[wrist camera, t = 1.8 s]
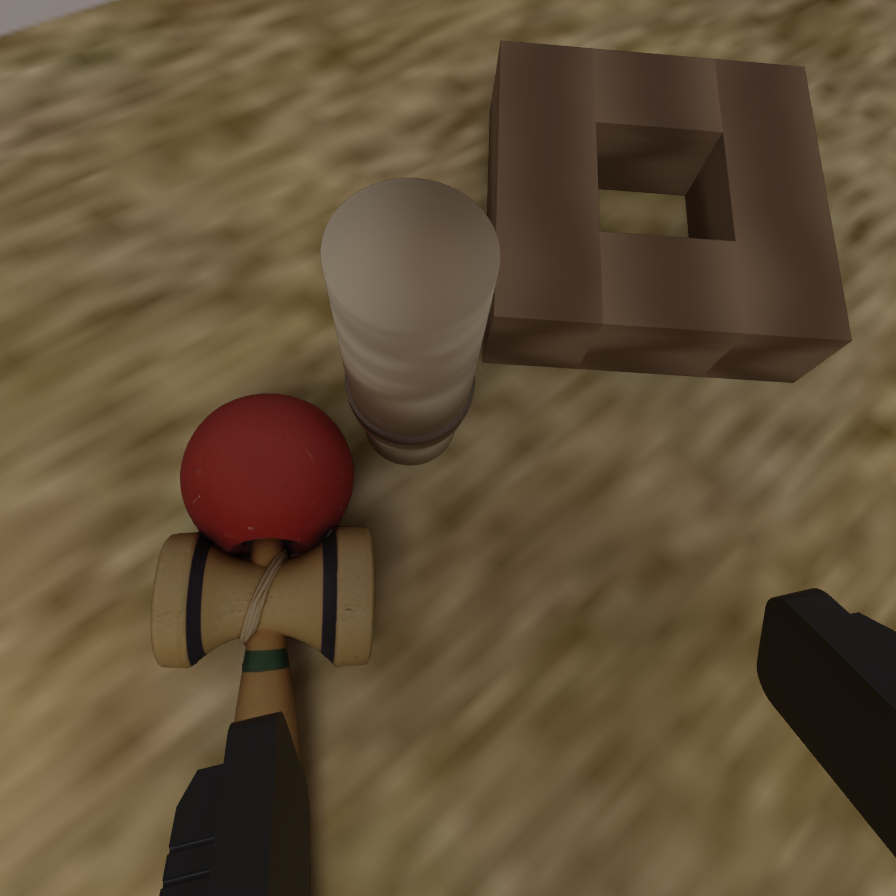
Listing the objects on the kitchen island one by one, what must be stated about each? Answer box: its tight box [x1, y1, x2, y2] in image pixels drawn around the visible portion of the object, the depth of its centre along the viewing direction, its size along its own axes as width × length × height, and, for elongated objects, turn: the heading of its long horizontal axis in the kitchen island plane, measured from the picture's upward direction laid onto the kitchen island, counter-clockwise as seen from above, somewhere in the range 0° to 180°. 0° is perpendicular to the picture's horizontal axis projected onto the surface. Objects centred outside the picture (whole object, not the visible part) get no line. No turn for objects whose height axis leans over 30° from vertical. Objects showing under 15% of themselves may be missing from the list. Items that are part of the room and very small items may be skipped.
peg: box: [321, 178, 500, 465], centre depth 21 cm, size 5×5×12 cm
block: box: [483, 41, 852, 383], centre depth 29 cm, size 14×14×4 cm
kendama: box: [151, 394, 374, 761], centre depth 22 cm, size 8×6×18 cm
